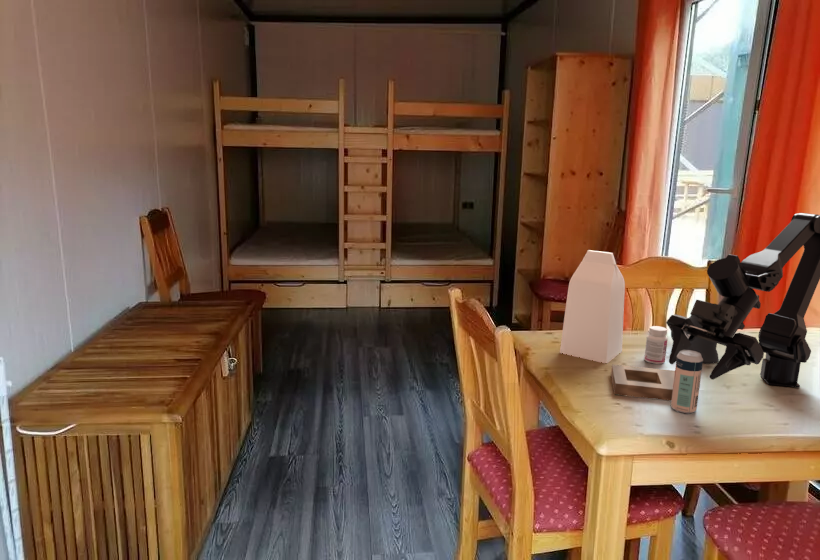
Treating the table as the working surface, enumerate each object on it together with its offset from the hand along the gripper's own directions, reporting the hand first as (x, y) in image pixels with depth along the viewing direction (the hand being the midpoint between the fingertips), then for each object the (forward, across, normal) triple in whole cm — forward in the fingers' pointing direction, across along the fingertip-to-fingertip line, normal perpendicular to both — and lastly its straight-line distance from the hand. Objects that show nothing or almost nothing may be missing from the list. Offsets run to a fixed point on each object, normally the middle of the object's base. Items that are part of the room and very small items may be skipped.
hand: (689, 370), depth 124 cm
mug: (-16, -20, +27) cm, 37 cm away
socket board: (+4, -11, +8) cm, 14 cm away
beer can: (+6, 0, +6) cm, 8 cm away
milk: (0, -34, +12) cm, 36 cm away
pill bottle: (-7, -22, +19) cm, 30 cm away
